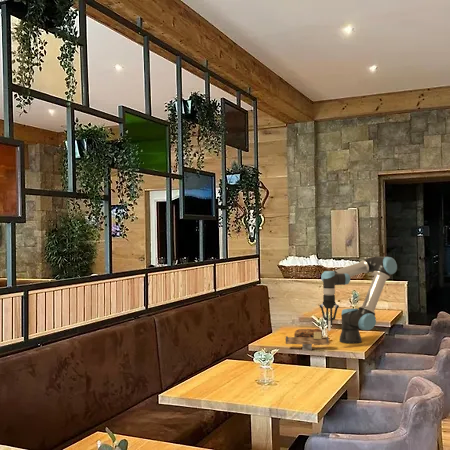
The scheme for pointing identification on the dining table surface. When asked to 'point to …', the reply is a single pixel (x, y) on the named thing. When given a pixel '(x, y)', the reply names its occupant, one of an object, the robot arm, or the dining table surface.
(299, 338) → the beam
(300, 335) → the bread
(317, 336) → the block
